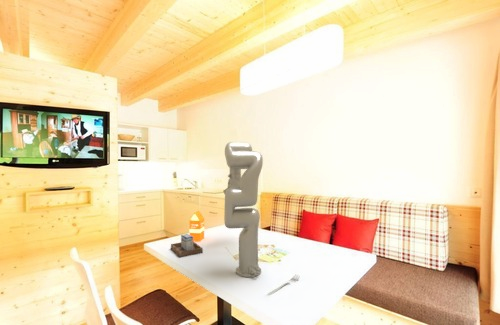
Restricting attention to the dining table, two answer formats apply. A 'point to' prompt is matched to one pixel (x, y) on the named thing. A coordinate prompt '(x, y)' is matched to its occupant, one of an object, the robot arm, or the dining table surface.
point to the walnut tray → (183, 253)
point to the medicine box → (186, 242)
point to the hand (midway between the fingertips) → (235, 202)
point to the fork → (283, 285)
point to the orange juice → (197, 227)
